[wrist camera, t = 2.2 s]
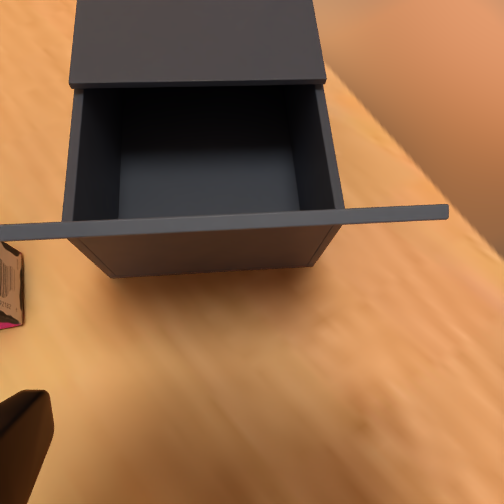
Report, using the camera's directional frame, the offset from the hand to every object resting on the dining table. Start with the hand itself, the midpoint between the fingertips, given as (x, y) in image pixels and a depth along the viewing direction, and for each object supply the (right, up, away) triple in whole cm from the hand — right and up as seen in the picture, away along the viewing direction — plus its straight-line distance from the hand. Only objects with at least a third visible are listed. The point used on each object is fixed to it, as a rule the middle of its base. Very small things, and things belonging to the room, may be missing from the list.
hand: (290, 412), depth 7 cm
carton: (-4, +9, +20) cm, 22 cm away
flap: (-2, +4, +6) cm, 7 cm away
